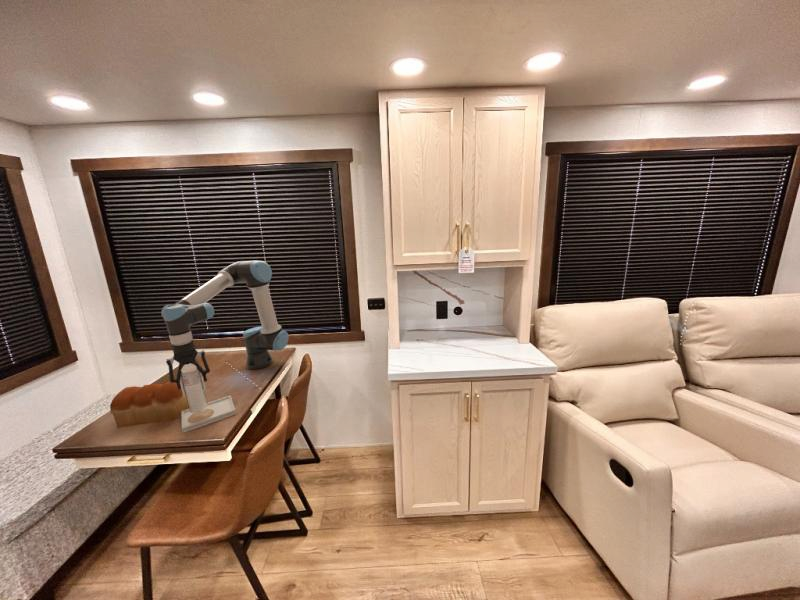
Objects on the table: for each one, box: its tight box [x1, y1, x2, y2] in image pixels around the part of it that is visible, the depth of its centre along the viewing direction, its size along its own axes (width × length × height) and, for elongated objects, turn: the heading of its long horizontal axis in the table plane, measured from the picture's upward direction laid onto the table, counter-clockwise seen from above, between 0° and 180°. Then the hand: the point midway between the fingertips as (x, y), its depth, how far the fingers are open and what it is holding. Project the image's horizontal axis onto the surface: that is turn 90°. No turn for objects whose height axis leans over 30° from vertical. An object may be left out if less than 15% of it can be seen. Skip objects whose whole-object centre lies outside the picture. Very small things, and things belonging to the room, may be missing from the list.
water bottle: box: [180, 362, 208, 414], centre depth 131 cm, size 7×7×25 cm
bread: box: [109, 381, 189, 428], centre depth 139 cm, size 25×12×15 cm, turn 101°
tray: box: [180, 395, 237, 434], centre depth 138 cm, size 20×16×2 cm
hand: (194, 391), depth 132 cm, fingers closed on water bottle, 7 cm apart
